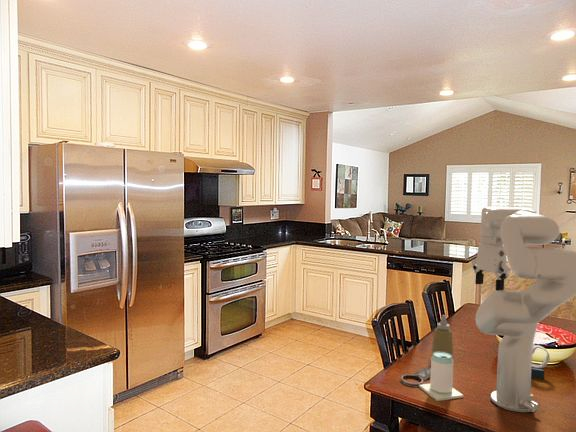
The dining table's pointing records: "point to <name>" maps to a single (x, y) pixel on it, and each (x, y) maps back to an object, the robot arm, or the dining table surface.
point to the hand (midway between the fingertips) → (489, 287)
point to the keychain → (417, 377)
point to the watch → (536, 369)
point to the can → (441, 372)
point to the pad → (440, 396)
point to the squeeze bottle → (443, 337)
